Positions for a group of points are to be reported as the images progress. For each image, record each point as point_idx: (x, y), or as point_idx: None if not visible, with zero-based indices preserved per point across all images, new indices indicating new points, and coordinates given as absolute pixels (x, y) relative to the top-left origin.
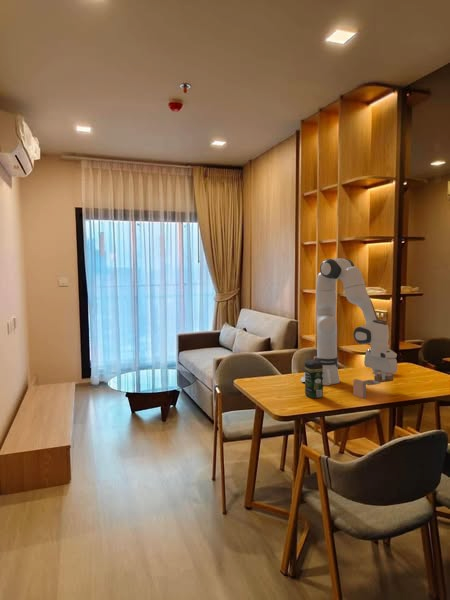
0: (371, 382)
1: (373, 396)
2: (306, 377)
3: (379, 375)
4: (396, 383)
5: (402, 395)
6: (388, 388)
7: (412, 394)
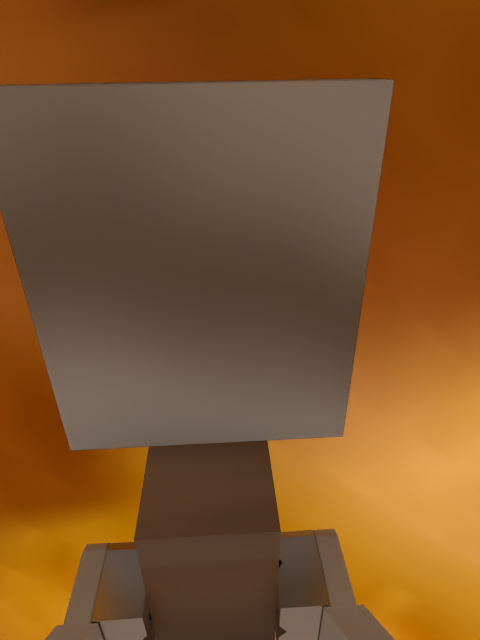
0: (113, 274)
1: None
2: None
3: (270, 624)
4: (399, 623)
5: (41, 493)
6: (320, 518)
7: (51, 567)
